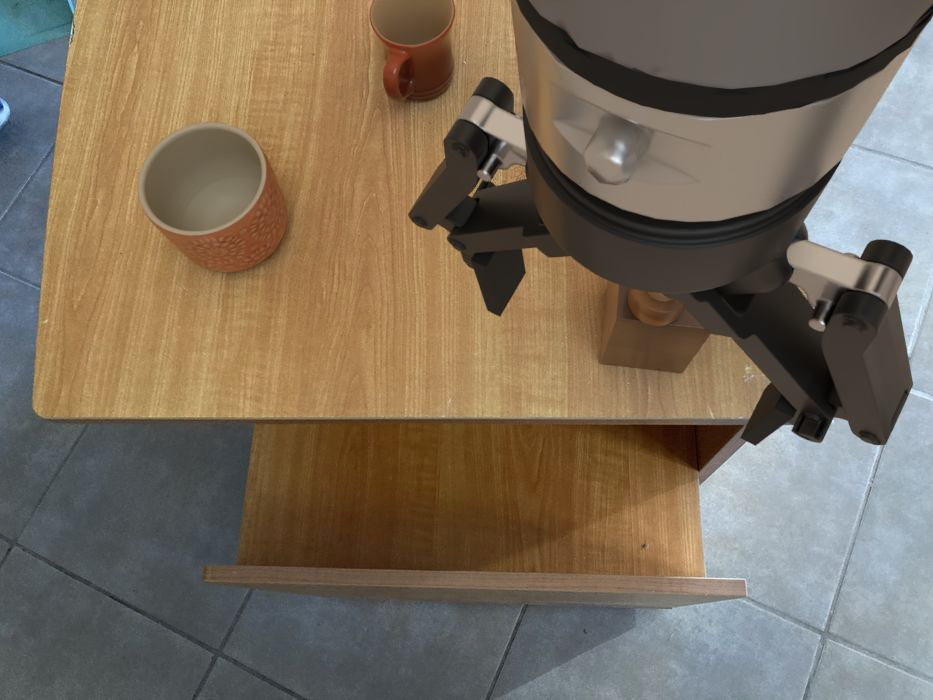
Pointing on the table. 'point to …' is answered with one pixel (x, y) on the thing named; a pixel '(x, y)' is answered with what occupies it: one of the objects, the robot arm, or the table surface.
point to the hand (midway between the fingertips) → (627, 351)
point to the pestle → (654, 307)
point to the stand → (647, 337)
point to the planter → (214, 196)
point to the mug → (415, 46)
